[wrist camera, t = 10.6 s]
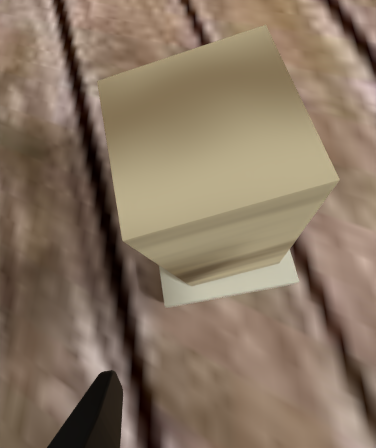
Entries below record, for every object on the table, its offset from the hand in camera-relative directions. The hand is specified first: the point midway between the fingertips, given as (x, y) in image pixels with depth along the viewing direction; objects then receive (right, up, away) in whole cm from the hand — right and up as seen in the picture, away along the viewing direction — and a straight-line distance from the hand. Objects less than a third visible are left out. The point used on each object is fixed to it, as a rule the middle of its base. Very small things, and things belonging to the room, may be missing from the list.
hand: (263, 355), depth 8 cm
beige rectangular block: (0, +3, +12) cm, 12 cm away
